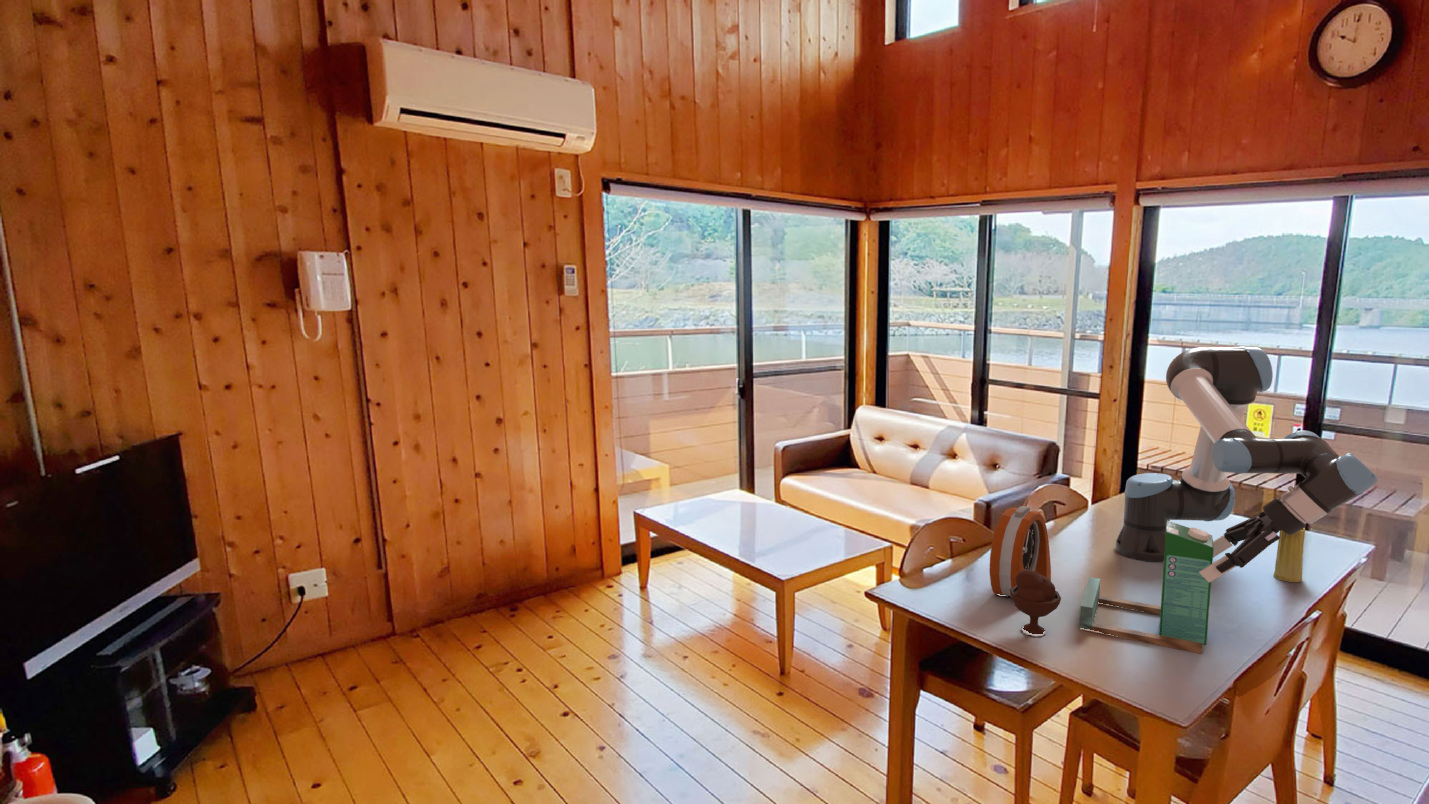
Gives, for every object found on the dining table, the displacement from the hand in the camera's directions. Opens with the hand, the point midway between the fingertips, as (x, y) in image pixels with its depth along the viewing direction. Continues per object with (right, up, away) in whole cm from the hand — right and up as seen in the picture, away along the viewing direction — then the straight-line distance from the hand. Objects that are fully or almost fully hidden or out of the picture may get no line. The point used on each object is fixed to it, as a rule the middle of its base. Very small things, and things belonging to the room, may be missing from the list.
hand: (1202, 566), depth 166 cm
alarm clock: (-28, -13, +30) cm, 43 cm away
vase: (+43, -10, +31) cm, 55 cm away
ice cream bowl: (-35, -17, +7) cm, 40 cm away
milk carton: (-2, -16, +4) cm, 17 cm away
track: (-9, -16, +9) cm, 20 cm away
